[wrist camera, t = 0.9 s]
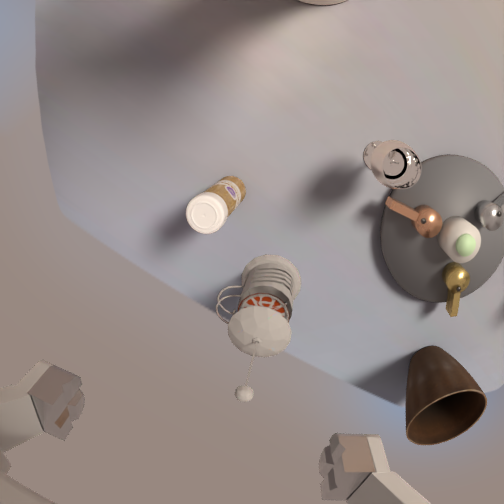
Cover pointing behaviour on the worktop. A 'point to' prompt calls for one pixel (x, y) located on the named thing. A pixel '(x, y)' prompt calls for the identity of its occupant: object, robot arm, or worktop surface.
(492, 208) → the knob steel
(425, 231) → the knob copper
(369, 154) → the wineglass
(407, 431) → the plant pot
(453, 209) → the tribrach
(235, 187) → the sprinkles bottle
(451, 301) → the knob brass
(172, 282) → the worktop surface
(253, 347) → the vented spool lamp
